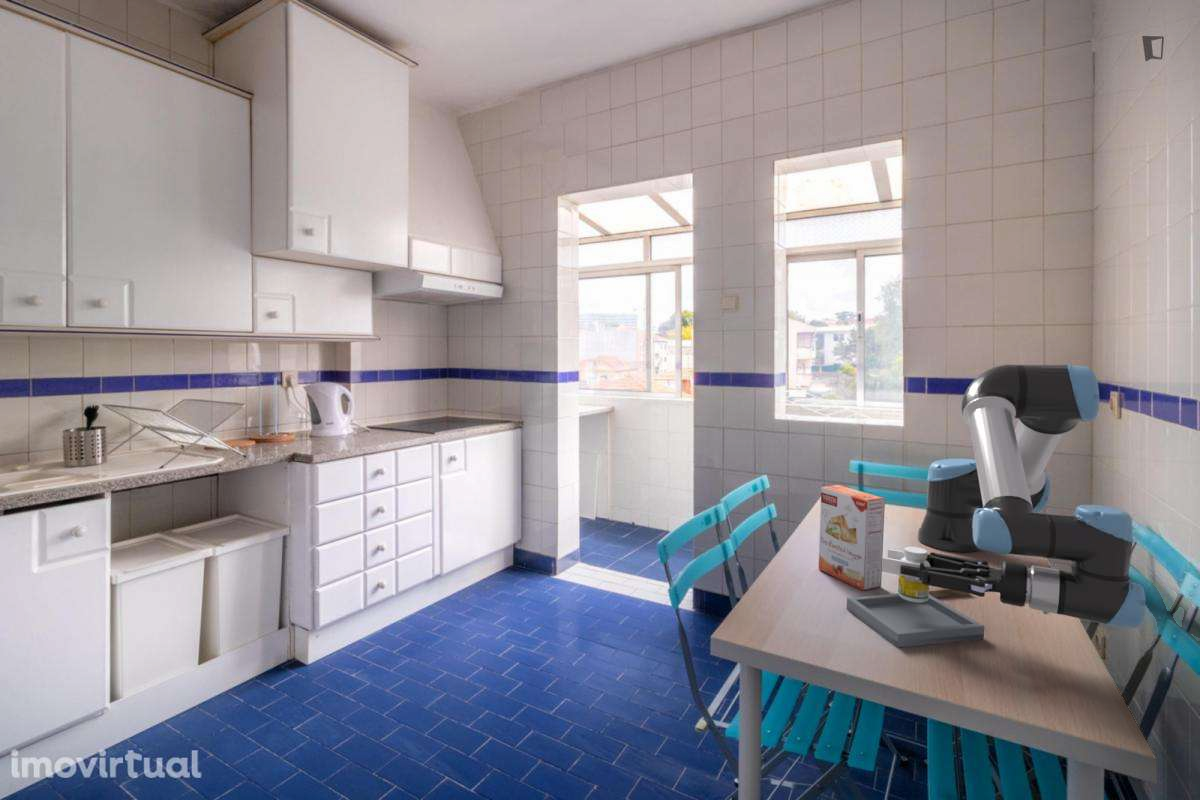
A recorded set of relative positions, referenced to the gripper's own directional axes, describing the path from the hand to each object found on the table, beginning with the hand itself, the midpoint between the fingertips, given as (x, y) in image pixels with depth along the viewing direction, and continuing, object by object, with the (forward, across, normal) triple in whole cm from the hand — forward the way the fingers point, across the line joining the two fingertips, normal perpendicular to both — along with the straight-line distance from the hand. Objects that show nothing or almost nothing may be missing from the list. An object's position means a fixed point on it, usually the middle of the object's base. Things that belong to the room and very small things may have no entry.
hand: (885, 559), depth 120 cm
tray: (-5, 0, -12) cm, 13 cm away
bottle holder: (-7, +23, -12) cm, 27 cm away
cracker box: (+10, +17, -12) cm, 23 cm away
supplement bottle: (-5, 0, -7) cm, 8 cm away
